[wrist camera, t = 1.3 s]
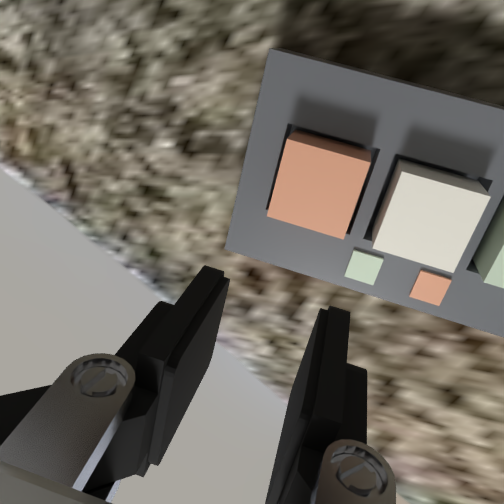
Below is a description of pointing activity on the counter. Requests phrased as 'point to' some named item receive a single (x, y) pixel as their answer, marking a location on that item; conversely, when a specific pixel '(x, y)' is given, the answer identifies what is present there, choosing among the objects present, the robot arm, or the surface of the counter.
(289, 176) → the terracotta key
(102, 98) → the counter surface
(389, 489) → the robot arm
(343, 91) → the keypad
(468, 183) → the cream key
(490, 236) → the sage key
